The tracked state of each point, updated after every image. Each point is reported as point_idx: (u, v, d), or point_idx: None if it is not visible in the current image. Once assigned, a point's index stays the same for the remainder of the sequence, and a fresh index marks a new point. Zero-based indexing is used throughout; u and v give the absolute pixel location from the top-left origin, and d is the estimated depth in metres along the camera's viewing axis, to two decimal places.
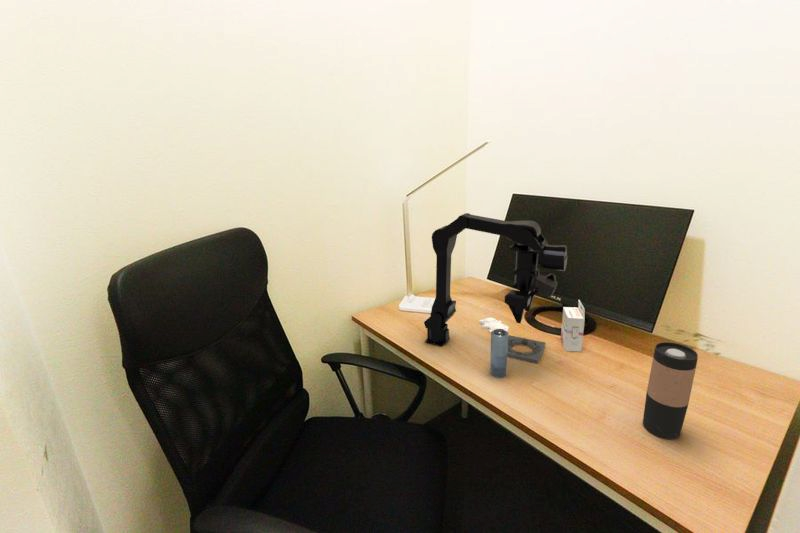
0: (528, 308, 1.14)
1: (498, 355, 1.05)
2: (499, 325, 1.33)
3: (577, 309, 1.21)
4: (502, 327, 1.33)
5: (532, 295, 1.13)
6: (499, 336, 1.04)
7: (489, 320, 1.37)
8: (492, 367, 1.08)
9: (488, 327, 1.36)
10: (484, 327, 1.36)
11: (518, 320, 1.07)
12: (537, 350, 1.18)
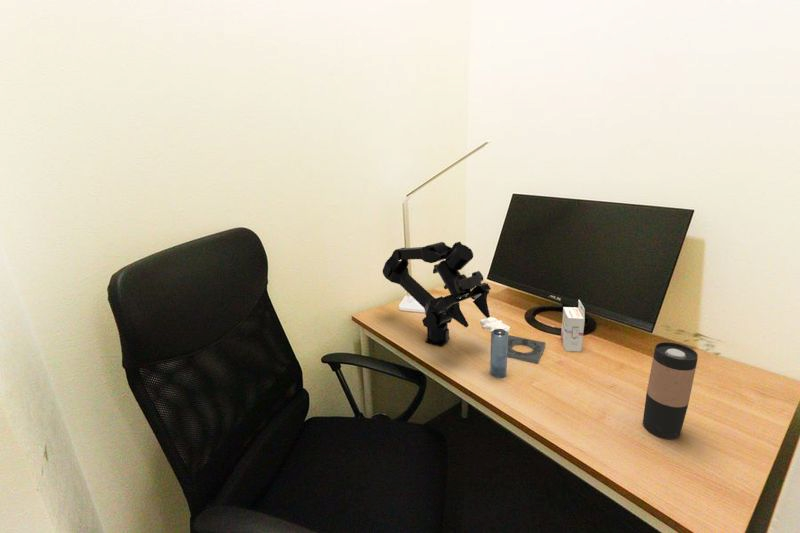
0: (487, 314, 1.14)
1: (498, 355, 1.05)
2: (500, 325, 1.34)
3: (577, 309, 1.21)
4: (503, 327, 1.33)
5: (482, 300, 1.15)
6: (499, 336, 1.04)
7: (490, 320, 1.37)
8: (492, 367, 1.08)
9: (489, 327, 1.36)
10: (485, 327, 1.36)
11: (464, 323, 1.09)
12: (537, 350, 1.18)
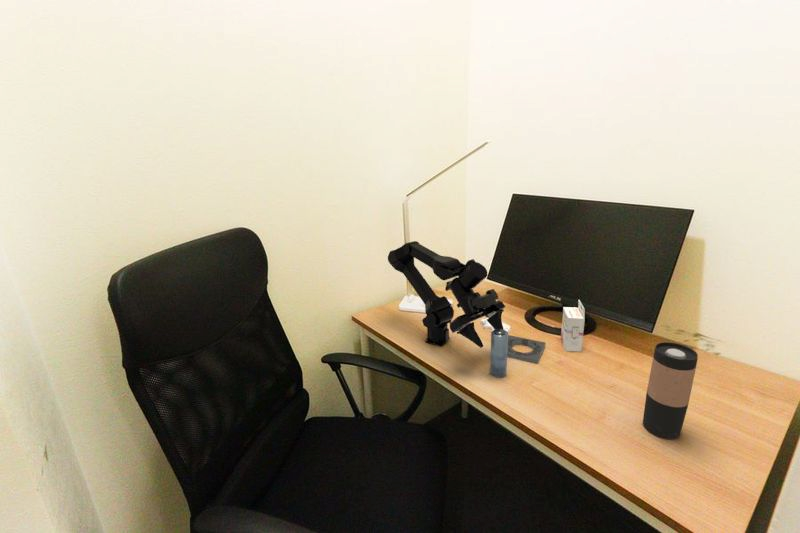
0: None
1: (498, 355, 1.05)
2: None
3: (577, 309, 1.21)
4: (504, 327, 1.33)
5: (497, 319, 1.12)
6: (499, 336, 1.04)
7: None
8: (492, 367, 1.08)
9: (490, 327, 1.36)
10: (486, 327, 1.36)
11: (479, 344, 1.06)
12: (537, 350, 1.18)
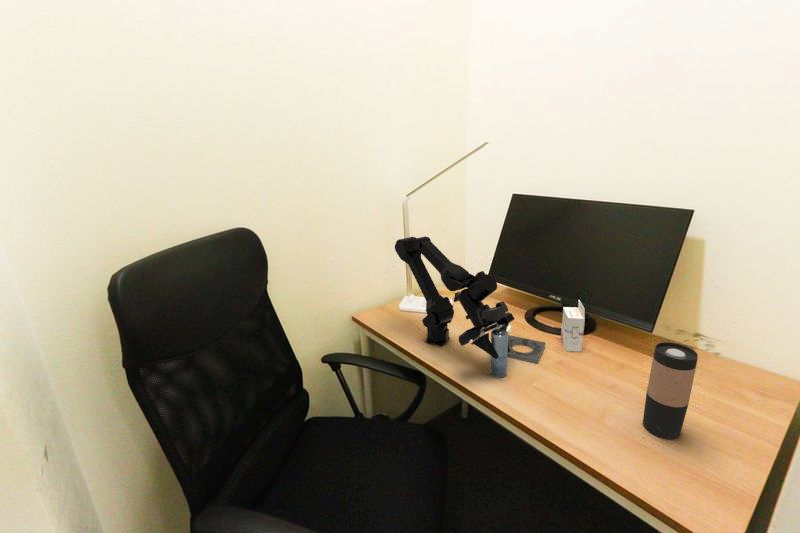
0: None
1: (498, 355, 1.05)
2: None
3: (577, 309, 1.21)
4: None
5: None
6: (499, 336, 1.04)
7: None
8: (492, 367, 1.08)
9: None
10: None
11: (494, 355, 1.05)
12: (537, 350, 1.18)
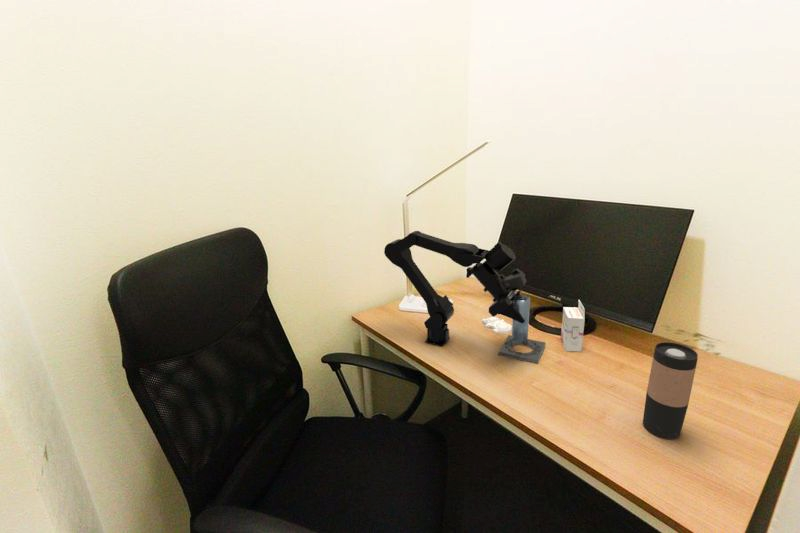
0: None
1: (524, 319, 1.10)
2: (503, 324, 1.34)
3: (577, 309, 1.21)
4: (506, 326, 1.33)
5: None
6: (525, 300, 1.09)
7: (492, 319, 1.38)
8: (517, 332, 1.12)
9: (491, 326, 1.36)
10: (487, 326, 1.37)
11: (521, 320, 1.10)
12: (537, 350, 1.18)
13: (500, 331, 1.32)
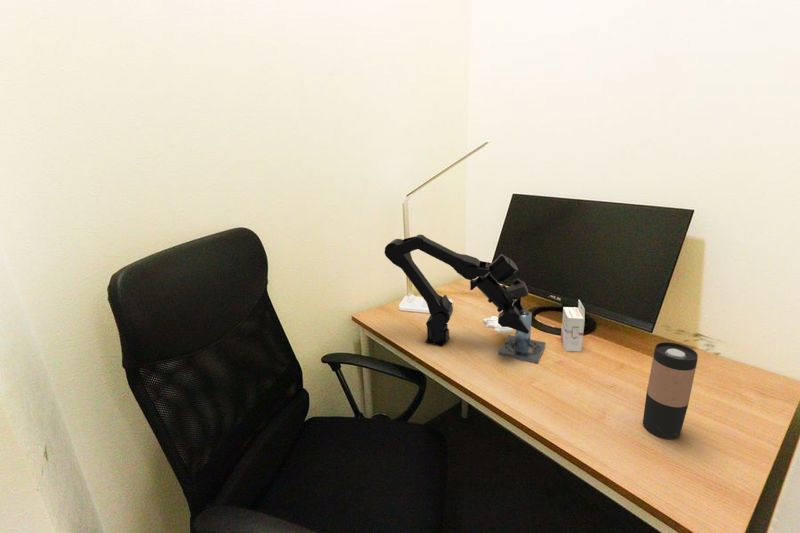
0: None
1: (527, 333, 1.17)
2: None
3: (577, 309, 1.21)
4: None
5: (519, 305, 1.22)
6: (527, 315, 1.15)
7: (493, 319, 1.38)
8: (521, 345, 1.18)
9: (493, 326, 1.37)
10: (489, 326, 1.37)
11: (525, 330, 1.13)
12: (537, 350, 1.18)
13: (501, 331, 1.33)
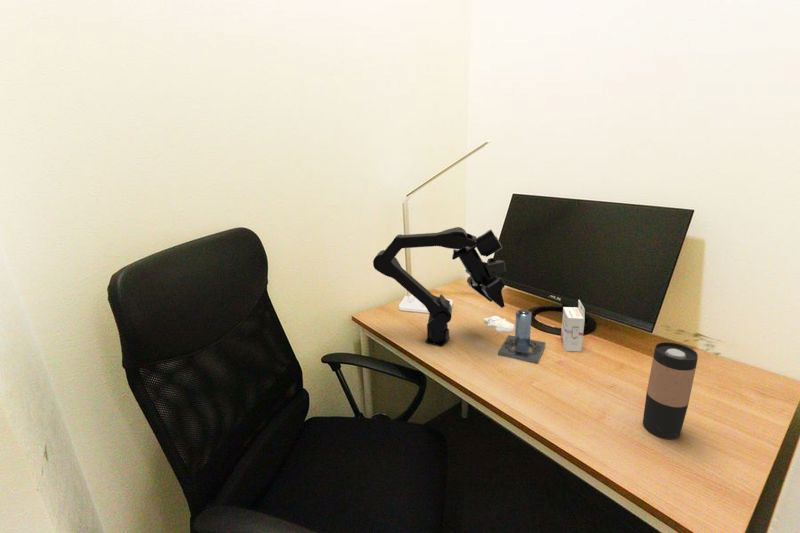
0: None
1: (527, 333, 1.17)
2: (505, 323, 1.35)
3: (577, 309, 1.21)
4: (508, 325, 1.34)
5: None
6: (527, 315, 1.16)
7: (494, 318, 1.38)
8: (521, 345, 1.18)
9: (494, 325, 1.37)
10: (490, 326, 1.37)
11: (502, 304, 1.17)
12: (537, 350, 1.18)
13: (503, 330, 1.33)
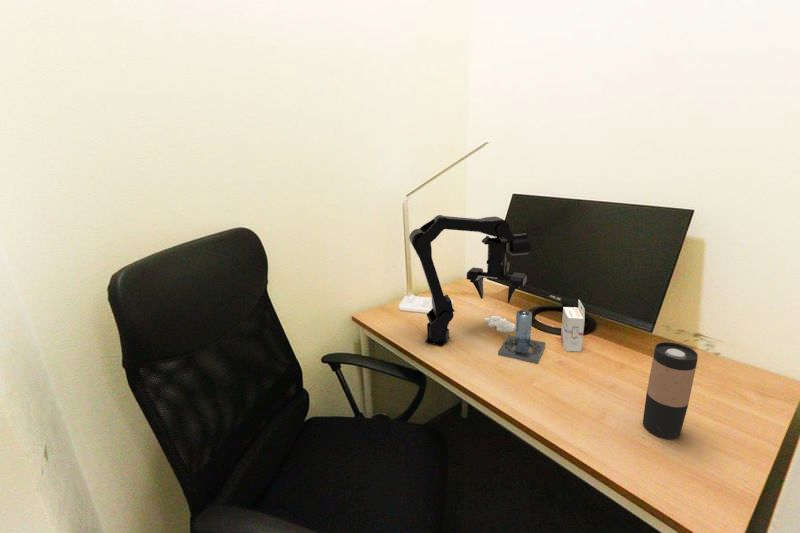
0: None
1: (528, 333, 1.17)
2: (506, 323, 1.35)
3: (577, 309, 1.21)
4: (509, 324, 1.34)
5: (482, 283, 1.29)
6: (528, 315, 1.15)
7: (495, 318, 1.38)
8: (521, 345, 1.18)
9: (495, 325, 1.37)
10: (491, 325, 1.37)
11: (510, 299, 1.25)
12: (537, 350, 1.18)
13: (504, 330, 1.33)
